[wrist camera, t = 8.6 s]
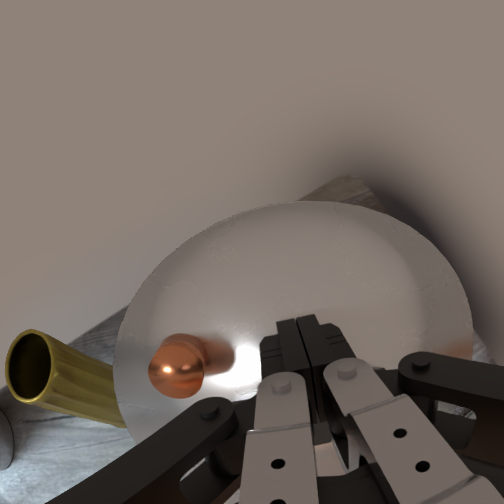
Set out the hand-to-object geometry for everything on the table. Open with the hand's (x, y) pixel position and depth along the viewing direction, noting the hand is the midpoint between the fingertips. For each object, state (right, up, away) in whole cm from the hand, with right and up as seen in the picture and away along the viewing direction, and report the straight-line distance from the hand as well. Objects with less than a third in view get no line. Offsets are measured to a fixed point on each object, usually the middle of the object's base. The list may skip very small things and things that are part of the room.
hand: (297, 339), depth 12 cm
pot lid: (+1, -3, +2) cm, 4 cm away
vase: (-15, -12, +16) cm, 25 cm away
